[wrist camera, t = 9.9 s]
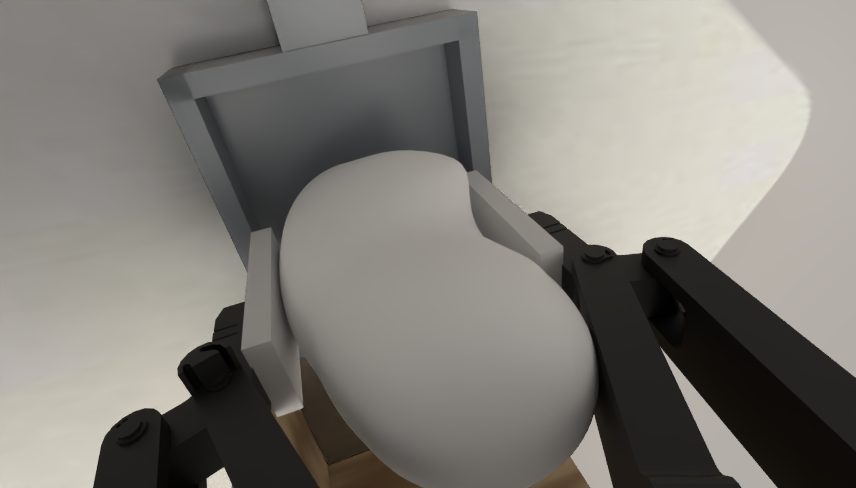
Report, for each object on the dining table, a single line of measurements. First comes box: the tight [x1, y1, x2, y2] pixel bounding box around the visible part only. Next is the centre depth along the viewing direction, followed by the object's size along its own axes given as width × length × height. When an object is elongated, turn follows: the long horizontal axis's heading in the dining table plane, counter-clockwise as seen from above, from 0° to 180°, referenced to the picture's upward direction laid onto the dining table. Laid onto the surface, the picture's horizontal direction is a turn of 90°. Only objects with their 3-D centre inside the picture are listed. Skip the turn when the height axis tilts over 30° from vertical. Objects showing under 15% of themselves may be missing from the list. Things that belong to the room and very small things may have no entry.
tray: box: [157, 0, 492, 358], centre depth 18 cm, size 18×11×3 cm, turn 10°
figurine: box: [279, 150, 599, 488], centre depth 14 cm, size 7×8×12 cm
